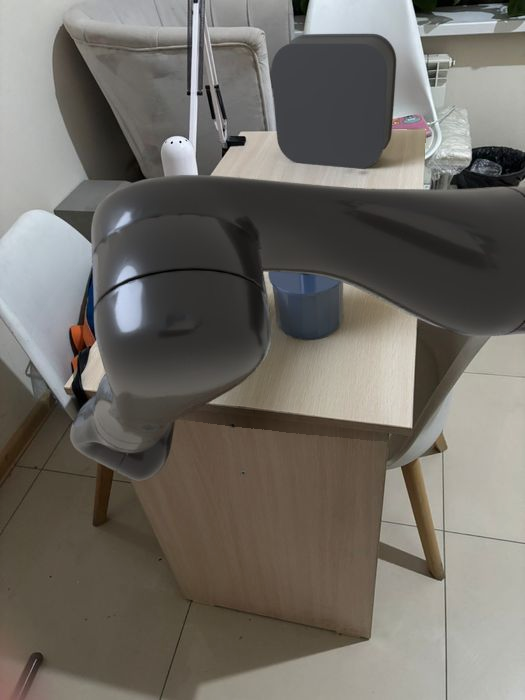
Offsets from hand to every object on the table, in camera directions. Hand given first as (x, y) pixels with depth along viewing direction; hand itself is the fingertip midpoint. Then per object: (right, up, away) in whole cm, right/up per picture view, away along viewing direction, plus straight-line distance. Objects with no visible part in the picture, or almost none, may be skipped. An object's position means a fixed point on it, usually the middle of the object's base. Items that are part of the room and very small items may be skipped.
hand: (226, 263), depth 78 cm
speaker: (+22, +32, +43) cm, 59 cm away
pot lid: (+12, -2, -4) cm, 13 cm away
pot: (+13, -8, +2) cm, 15 cm away
